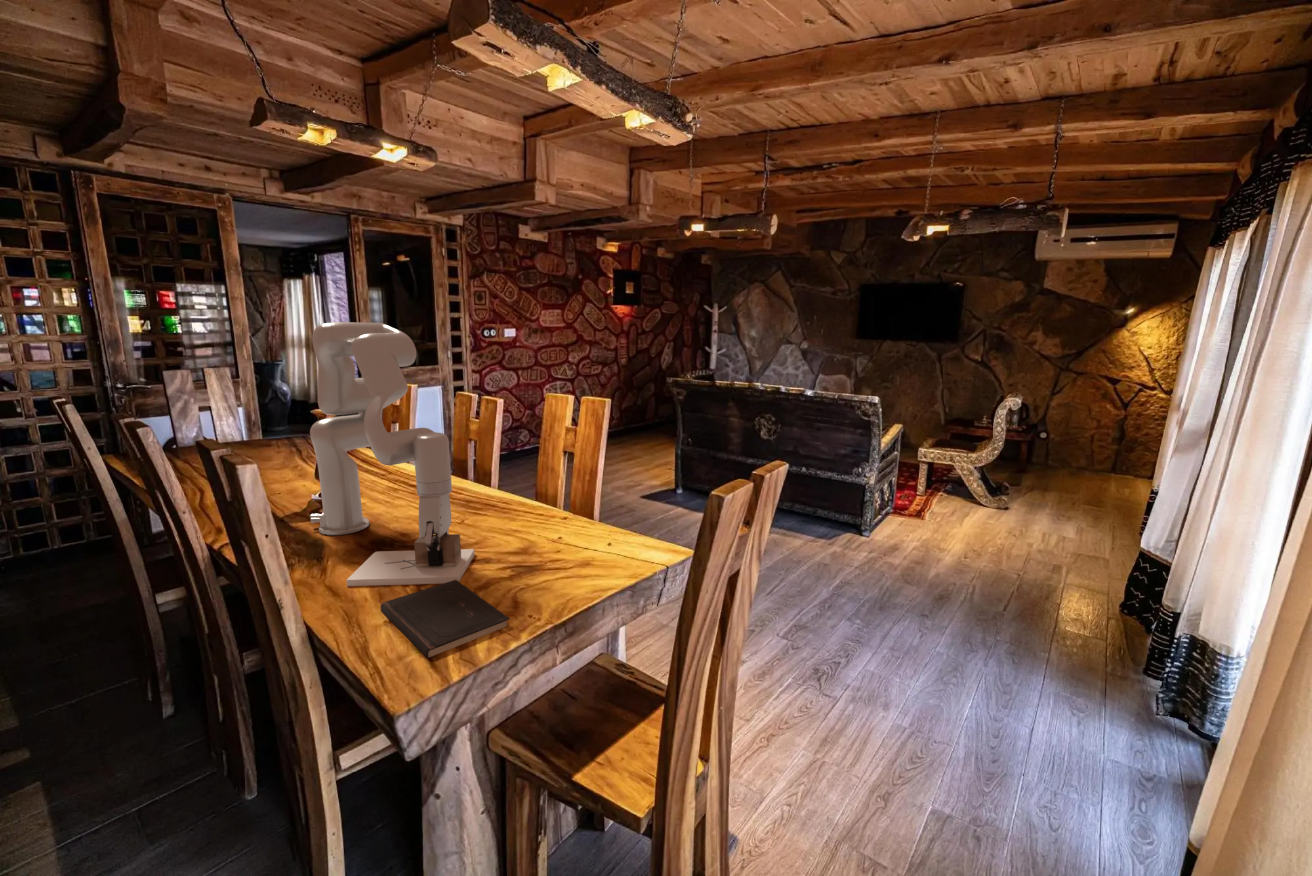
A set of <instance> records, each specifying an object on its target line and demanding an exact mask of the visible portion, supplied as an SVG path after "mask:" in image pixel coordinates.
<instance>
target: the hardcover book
mask: <svg viewBox="0 0 1312 876" xmlns="http://www.w3.org/2000/svg"><path fill="white" fill-rule="evenodd" d="M380 611H381V613H383V615H384V616H385V617H386V618H387V619H388V620H389V621H390V622H391V623H392V624H393V625H394V626H395V627H396V628H397V630H399V631H400V632H401V634H402V635H404V636H405V637H406V638H407V640H409V642H411V643H412V645H414V646H415V647H416V648H417V649H418V651H419V652H421V654H423V655H424V656H425V658H426V659H428V660H429V659H430V658H432V657H434V656H436V655H439V654H441V653H444V652H446V651H449V650H451V649H454V648H457V647H458V646H459V647H460V646H462V645H464V644H466V643H469V642H471V641H473V640H477V639H478V638H481V637H484V636H487V635H489V634H491V633H494V632H497V631H499V630H501V628H502V629H504V628H507V627H508V621H509V620H510V617H508V615H506V614H504V613H503V612H501V611H500V610H499V609H497V608H496V607H495V606H493V604H490V603H489V602H487V601H486V600H485V599H483V597H481V596H479V595H478V594H476V593H475V592H474V591H473V590H471V589H470V588H469V587H467V586H465V585H464V584H463V583H461V582H460V581H457V580H453V581H450V582H447V583H439V584H438V585H434V586H432V587H428V588H425V589H421V590H418V591H415V592H412V593H409V594H406V595H402V596H399V597H397V598H393V599H390V600H389V599H388V600H387V601H386V600H385V601H384V602H382V603H380ZM506 626H507V627H506ZM496 630H497V631H496Z"/></svg>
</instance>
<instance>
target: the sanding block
mask: <svg viewBox="0 0 1312 876" xmlns="http://www.w3.org/2000/svg"><path fill="white" fill-rule="evenodd" d="M434 536H437V535H436V534H433V537H434ZM425 540H426V536H425V537H424V538H423V539H421V538H420V536H418V537H417V539H416V540H415V541H414V543H413V544H414V551H415V561H416V567H450V566H456V565H457V564H458V562H459V561H460V559H461V549H462V548H461V547H462V546H461V535H460V534H459V533H458V534H457V533H455V534H450V533H449V534H447V535H443V536H442V537H441V549H442V550H443V565H442V566H429V563H428V551H427V545H426V544H425ZM433 541H434V542H436V543H437V539H433Z"/></svg>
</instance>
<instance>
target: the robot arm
mask: <svg viewBox="0 0 1312 876" xmlns="http://www.w3.org/2000/svg"><path fill="white" fill-rule="evenodd" d="M311 339H312V348H313V352H314V355H315V357H316V361H317V369H318V370H317V404H318V408H319V410H320V412H322V413H323V414H325V415H327V416H329V415H330V416H333V417H326V418H323V419H320V420H317V421H315V422H314V423H313V424H312V425H311V427H310V429H309V435H310V441H311V443H312V446H313V448H314V449H313V450H314V453H315V458H316V462H317V469H318V470H317V471H318V477H319V485H320V487H319V488H320V494H321V495H320V496H321V502H322V513H311V514H310V516H309V519H310V523H313V524H314V523H319V524H320V525H319V526H318V531H319V533H320V534H322V535H325V534H326V536H342V535H348V534H353V533H356V532H357V533H358V532H360V531H363V530H364V529H366V528H367V527H369V526H370V520H369V519H368V518H367V517H364V516H363V507H362V496H361V487H360V478H359V477H360V476H359V468H358V465H357V462H356V460H354V458H352V457H351V456H350V455H349V454H348V453H347V452H348V451H352V450H358V449H362V448H363V449H364V448H367V447H368V448H369V447H370V449H371V451H372V453H373V455H374V457H375V458H376V460H377V461H378V462H379V463H381V464H382V465H385V466H394V465H395V466H396V465H400V464H404V463H405V464H406V463H409V462H410V463H411V462H414V467H415V468H414V470H415V483H416V495H417V496H419V499H418V533H419V534H418V535H419V536H418V537H420V538H421V539H423V538H424V537H425V536H426V540H425V544H426V545H427V551H428V563H429V566H442V565H443V550H442V549H441V537H442V536H443V535H447V534H450V533H449V528H450V527H451V525H452V508H451V499H450V498H451V497H450V494H451V493H452V492H453V487H452V483H453V482H452V473H451V472H452V471H451V458H450V457H451V454H450V442H449V437H448V436H447V434H445V433H442V432H435V431H434V430H432V429H430V428H428V427H417V428H410V429H409V428H408V429H402V430H396V431H389V432H388V431H387V429H386V427H385V425H384V423H383V422H384V421H383V410H384V409H385V408H387V407H388V406H390V405H392V404H394V403H395V402H397V401H399V400H400V399H402V398H404V396H405V395H406V394H407V392H408V390H409V386H408V383H407V381H406V378H405V376H404V374H403V372H402V370H401V368H400V367H403V368H404V367H409V366H411V365H413V364H414V363H415V361H416V359H417V349H416V348H417V347H416V346H415V345H416V344H415V343H414V341H413V340H412V339H411V337H410V336H409V335H408V334H406V333H405V332H403V331H401V330H399V329H397V328H395V327H393V326H390V325H387V324H386V323H381V322H353V321H352V322H351V321H349V322H348V321H347V322H345V321H342V322H341V321H340V322H339V321H338V322H334V321H333V322H326V323H325V322H324V323H321V324H319V325H317V326H316V327H315V328H314V329H313V332H312V337H311ZM352 357H353V358H354V360H355V362H354V360H353V359H352ZM355 363H356V365H357V368H358V370H359V372H360V375H361V376H362V377H356V375H355V374H356V365H355ZM433 535H437V536H434V537H433ZM433 539H437V543H436V542H434V541H433Z"/></svg>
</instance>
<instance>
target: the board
mask: <svg viewBox="0 0 1312 876" xmlns="http://www.w3.org/2000/svg"><path fill="white" fill-rule="evenodd" d="M475 555H476V554H475V548H466V549H465V548H464V549H463V548H461V559H460V561H459V562H458V564H457V565H456V566H450V567H416V561H415V550H387V551H381V550H380V551H375V552H374V553H372V554H371V555H370V556H369V557H368V558H367V559H366V560H365V561H364V562H363V563H362V564H361V565H359V567H358V568H357V569H356V570H355V571H354V572H352V573H351V575H350V576H349V577H348V578H347V579H346V586H347V587H360V586H361V587H369V586H396V585H397V586H398V585H399V586H400V585H401V586H402V585H427V584H428V585H436V584H438V585H439V584H443V583H447V582H450V581H453V580H457V581H459V582H460V581H461V579H462V577H463V575H464V573H465V572H466V570H467V568H468V567H469V566H470V564H471V562H472V560H473V559H474V557H475Z"/></svg>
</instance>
